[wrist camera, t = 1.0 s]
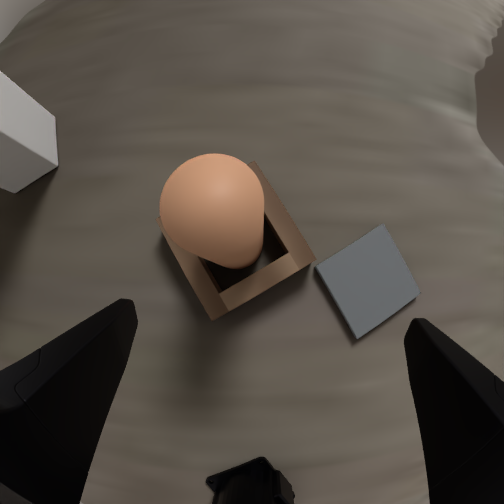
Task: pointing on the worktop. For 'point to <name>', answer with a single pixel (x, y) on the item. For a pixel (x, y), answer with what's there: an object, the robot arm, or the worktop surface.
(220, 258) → the peach rounded cylinder
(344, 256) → the slate rubber pad
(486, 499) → the robot arm
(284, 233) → the walnut socket block
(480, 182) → the worktop surface
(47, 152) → the milk carton
